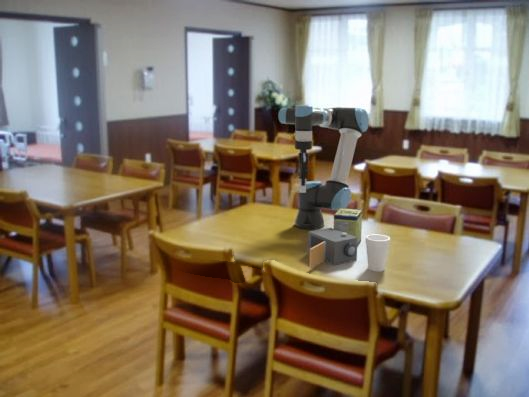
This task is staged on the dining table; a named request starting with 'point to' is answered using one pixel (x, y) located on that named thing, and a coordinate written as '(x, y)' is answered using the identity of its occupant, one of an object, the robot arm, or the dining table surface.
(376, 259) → the foam cup
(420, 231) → the dining table surface
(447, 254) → the dining table surface
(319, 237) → the camera body
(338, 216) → the protein box
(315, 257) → the side door
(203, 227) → the dining table surface
